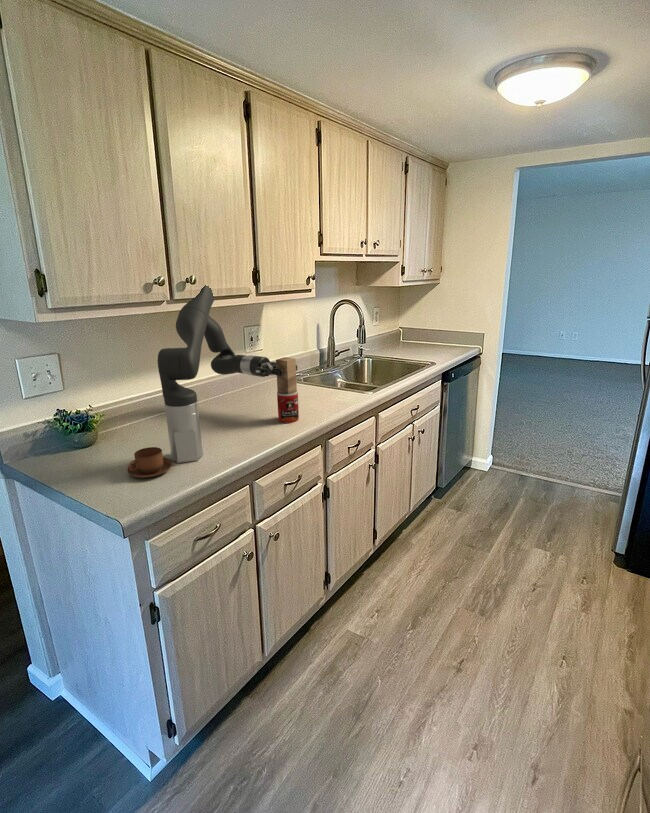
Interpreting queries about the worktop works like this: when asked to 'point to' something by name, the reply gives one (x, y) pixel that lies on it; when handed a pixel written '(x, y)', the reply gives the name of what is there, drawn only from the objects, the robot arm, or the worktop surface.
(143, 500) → the worktop surface
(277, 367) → the walnut block
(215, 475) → the worktop surface
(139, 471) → the cup and saucer
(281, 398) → the canned food
